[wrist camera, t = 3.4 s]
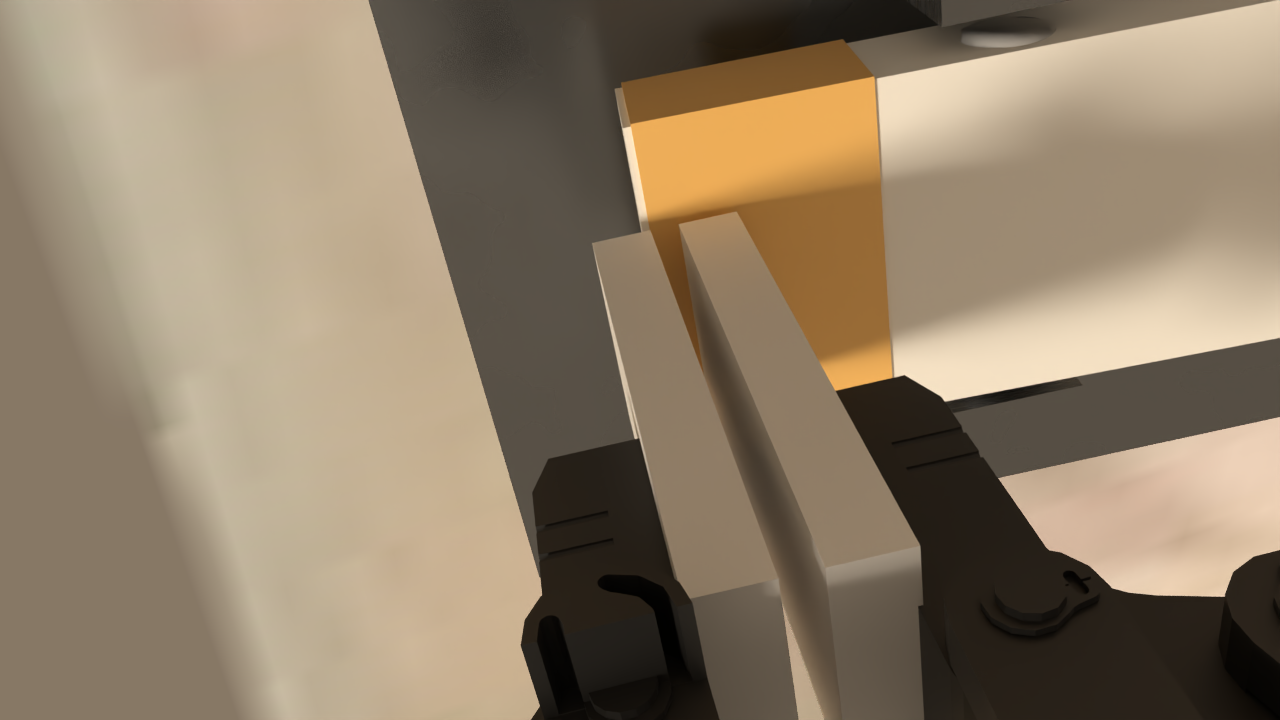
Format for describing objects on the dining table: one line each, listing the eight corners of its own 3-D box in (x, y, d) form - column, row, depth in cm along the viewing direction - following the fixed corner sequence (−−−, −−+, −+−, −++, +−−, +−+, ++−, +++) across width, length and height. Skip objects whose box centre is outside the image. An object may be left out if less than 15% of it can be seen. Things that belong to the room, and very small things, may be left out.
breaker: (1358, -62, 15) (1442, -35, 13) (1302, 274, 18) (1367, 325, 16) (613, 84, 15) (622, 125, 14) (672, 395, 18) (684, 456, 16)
